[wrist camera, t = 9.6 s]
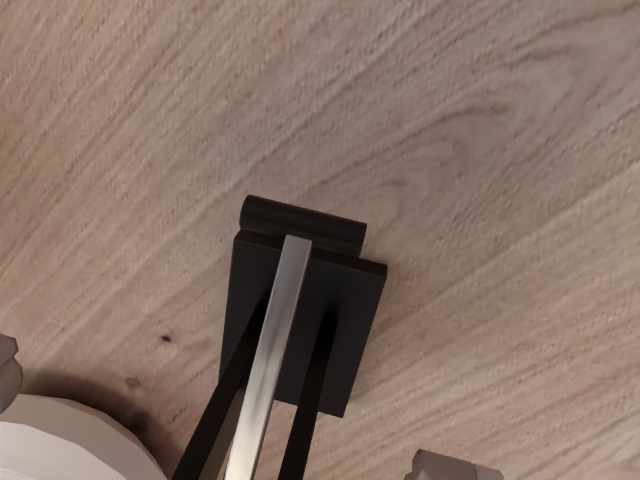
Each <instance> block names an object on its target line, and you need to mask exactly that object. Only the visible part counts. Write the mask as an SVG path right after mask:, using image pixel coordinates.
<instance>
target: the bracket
mask: <svg viewBox="0 0 640 480" xmlns="http://www.w3.org/2000/svg"><path fill="white" fill-rule="evenodd" d="M284 241H285V240H284V239H280V238H276V237H272V236H268V235H264V234H260V233H256V232H252V231H248V230H244V229H240V231H239V232H238V234H237V235H236V236H235V238H234V243H233V252H232V261H231V270H230V279H229V288H228V297H227V306H226V315H225V324H224V334H223V343H222V352H221V361H220V370H219V379H218V385H217V387H216V389H215V391H214V393H213V395H212V397H211V399H210V401H209V403H208V405H207V407H206V409H205V411H204V413H203V415H202V417H201V419H200V421H199V423H198V425H197V427H196V429H195V431H194V434H193V436H192V438H191V440H190V442H189V444H188V446H187V448H186V450H185V452H184V454H183V456H182V458H181V460H180V462H179V464H178V466H177V468H176V470H175V472H174V474H173V476H172V478H171V480H216V479H217V476H218V474H219V471H220V469H221V466H222V464H223V461H224V459H225V456H226V454H227V451H228V449H229V446H230V444H231V441H232V439H233V436H234V434H235V431H236V427H237V423H238V420H239V416H240V412H241V408H242V404H243V400H244V396H245V392H246V389H247V385H248V381H249V377H250V373H251V369H252V365H253V361H254V357H255V354H256V350H257V346H258V342H259V338H260V334H261V330H262V326H263V323H264V319H265V315H266V311H267V307H268V303H269V299H270V295H271V291H272V288H273V284H274V280H275V276H276V272H277V268H278V264H279V260H280V257H281V253H282V249H283V245H284ZM387 268H388V267H387V265H383V264H379V263H375V262H371V261H367V260H363V259H359V258H355V257H351V256H347V255H343V254H339V253H335V252H331V251H327V250H323V249H319V248H316V247H313V248H312V252H311V256H310V260H309V264H308V268H307V272H306V275H305V279H304V283H303V287H302V291H301V295H300V299H299V303H298V307H297V311H296V315H295V319H294V323H293V326H292V330H291V334H290V338H289V342H288V346H287V350H286V354H285V358H284V362H283V366H282V370H281V374H280V377H279V381H278V385H277V389H276V393H275V397H274V400H278V401H282V402H285V403H289V404H292V405H296V406H298V407H297V411H296V414H295V418H294V422H293V425H292V429H291V432H290V436H289V440H288V443H287V447H286V451H285V454H284V458H283V462H282V465H281V469H280V472H279V476H278V480H303V476H304V472H305V468H306V463H307V459H308V454H309V450H310V445H311V441H312V436H313V432H314V427H315V423H316V418H317V414H318V412H322V413H325V414H329V415H333V416H336V417H340V418H343V416H344V412H345V409H346V406H347V403H348V400H349V396H350V393H351V390H352V387H353V384H354V380H355V377H356V374H357V371H358V368H359V364H360V361H361V358H362V355H363V352H364V348H365V345H366V342H367V339H368V335H369V332H370V329H371V326H372V323H373V319H374V316H375V313H376V310H377V307H378V303H379V300H380V297H381V294H382V291H383V287H384V284H385V281H386V278H387Z"/></svg>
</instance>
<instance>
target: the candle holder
mask: <svg viewBox="0 0 640 480" xmlns="http://www.w3.org/2000/svg"><path fill="white" fill-rule="evenodd" d="M0 480H167V478H166V476H165V475H164V473H163V471H162V470H161V468H160V467H159V465H158V463H157V462H156V460H155V458H154V457H153V456H152V455H151V454H150V452H149V451H148V450H147V449H146V448H145V446H144V445H143V444H142V443H141V442H140V440H139V439H138V438H137V437H136V436H135V434H133V433H132V432H130V431H129V430H128V429H126V428H125V427H124V426H122V425H121V424H120V423H118V422H117V421H115V420H114V419H113V418H111V417H110V416H109V415H107V414H106V413H104V412H101V411H99V410H96V409H94V408H91V407H88V406H86V405H83V404H81V403H78V402H75V401H73V400H70V399H62V398H55V397H47V396H40V395H28V394H17V396H16V398H15V400H14V401H13V403H12V404H11V405H10V406H9V407H8V408H7V409H6V410H5V411H4V412H3V413H2V414H0Z"/></svg>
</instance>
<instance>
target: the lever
mask: <svg viewBox="0 0 640 480" xmlns="http://www.w3.org/2000/svg"><path fill="white" fill-rule="evenodd" d="M239 224H240V228H242V229H245V230H249V231H253V232H257V233H261V234H265V235H269V236H273V237H277V238H281V239H285V241H284V245H283V249H282V253H281V257H280V260H279V264H278V268H277V272H276V276H275V280H274V284H273V288H272V291H271V295H270V299H269V303H268V307H267V311H266V315H265V319H264V323H263V326H262V330H261V334H260V338H259V342H258V346H257V350H256V354H255V357H254V361H253V365H252V369H251V373H250V377H249V381H248V385H247V389H246V392H245V396H244V400H243V404H242V408H241V412H240V416H239V420H238V423H237V427H236V431H235V435H234V439H233V443H232V447H231V451H230V455H229V458H228V462H227V466H226V470H225V474H224V478H223V480H253V479H254V475H255V472H256V468H257V464H258V460H259V456H260V452H261V448H262V444H263V440H264V436H265V432H266V428H267V425H268V421H269V417H270V413H271V409H272V405H273V401H274V397H275V393H276V389H277V385H278V381H279V377H280V374H281V370H282V366H283V362H284V358H285V354H286V350H287V346H288V342H289V338H290V334H291V330H292V326H293V323H294V319H295V315H296V311H297V307H298V303H299V299H300V295H301V291H302V287H303V283H304V279H305V275H306V272H307V268H308V264H309V260H310V256H311V252H312V248H313V247H316V248H320V249H324V250H328V251H332V252H336V253H340V254H344V255H348V256H352V257H356V258H359V256H360V253H361V249H362V245H363V241H364V237H365V233H366V229H367V224H366V223H363V222H359V221H354V220H350V219H346V218H342V217H338V216H334V215H330V214H326V213H322V212H318V211H314V210H310V209H306V208H302V207H298V206H294V205H290V204H286V203H282V202H278V201H274V200H270V199H266V198H262V197H258V196H254V195H248V196H247V197H246V198H245V200H244V203H243V206H242V209H241V213H240V221H239Z"/></svg>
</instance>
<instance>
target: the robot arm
mask: <svg viewBox="0 0 640 480" xmlns="http://www.w3.org/2000/svg"><path fill="white" fill-rule="evenodd" d="M18 351H19V350H18V346H17V342H16V338H13V337H9V336H6V335H3V334H0V414H2V413H3V412H4V411H5V410H6V409H7V408H8V407H9V406H10V405H11V404H12V403H13V401H14V400H15V398H16V396H17V394H18V392H19V391H20V389H21V387H22V381H23V371H22V367H21V365H20V364H19V363H18V362H17V361H16V359H15V358H14V357H13V356H14V355H15V354H16V353H17V352H18ZM404 480H504V477H503V475H502V473H501V472H500V471H498V470H495V469H491V468H488V467H484V466H480V465H477V464H471V462H468V461H464V460H460V459H457V458H453V457H449V456H445V455H441V454H437V453H434V452H430V451H426V450H422V449H419V450H418V451H417V452H416V454H415V456H414V458H413V460H412V472H411V473H409V474H406V476H405V478H404Z"/></svg>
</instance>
